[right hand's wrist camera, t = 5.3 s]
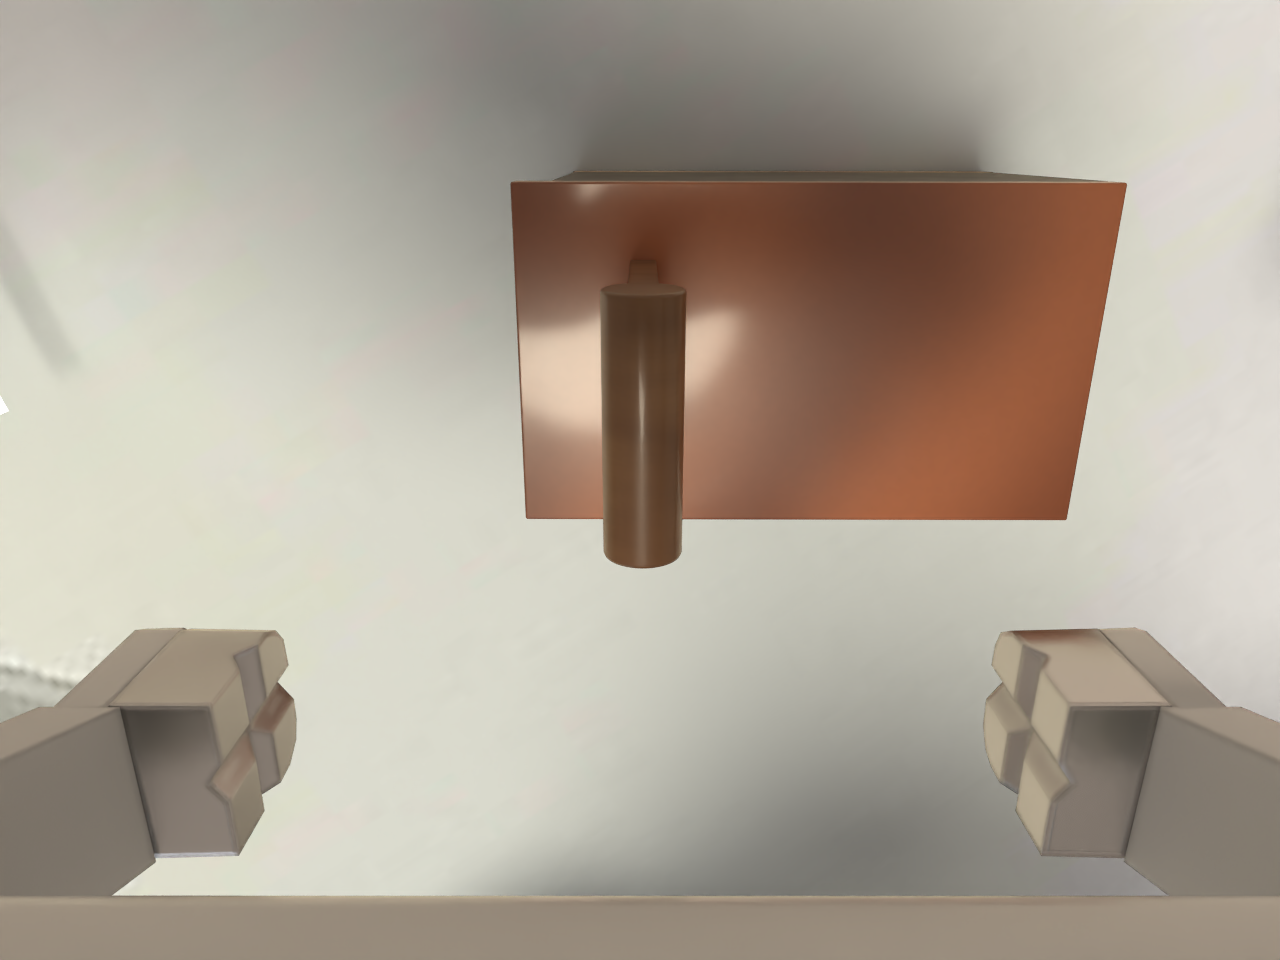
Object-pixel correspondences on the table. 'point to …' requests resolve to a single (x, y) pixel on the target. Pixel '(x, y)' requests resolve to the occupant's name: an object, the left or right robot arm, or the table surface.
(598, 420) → the lid
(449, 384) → the table surface
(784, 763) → the table surface
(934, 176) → the chest
